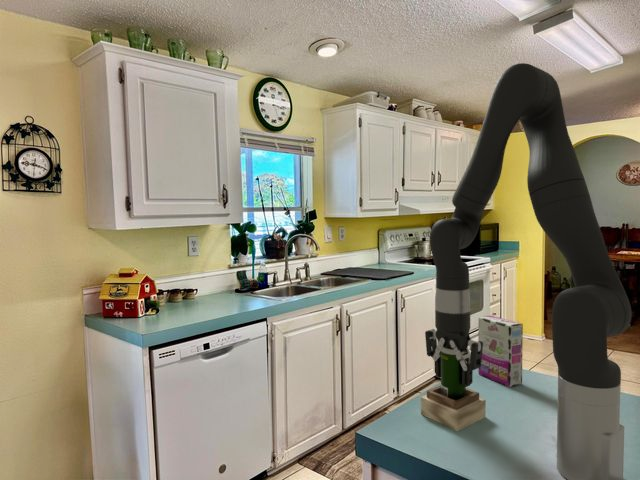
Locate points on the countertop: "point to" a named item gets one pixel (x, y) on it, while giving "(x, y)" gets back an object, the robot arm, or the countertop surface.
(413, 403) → the countertop surface
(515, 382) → the candy bar box
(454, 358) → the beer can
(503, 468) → the countertop surface
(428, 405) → the pedestal
